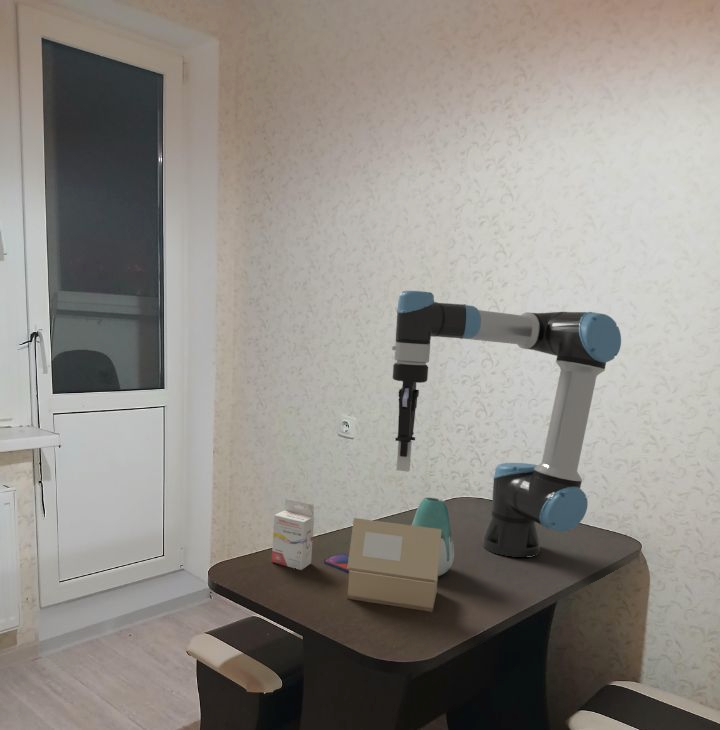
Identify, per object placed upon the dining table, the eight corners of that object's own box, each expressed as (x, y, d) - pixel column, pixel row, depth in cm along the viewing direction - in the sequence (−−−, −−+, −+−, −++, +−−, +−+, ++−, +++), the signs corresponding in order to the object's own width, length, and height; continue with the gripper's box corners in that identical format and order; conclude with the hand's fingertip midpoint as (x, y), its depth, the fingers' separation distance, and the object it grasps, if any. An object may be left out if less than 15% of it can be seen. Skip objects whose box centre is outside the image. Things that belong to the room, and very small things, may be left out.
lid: (441, 529, 133) (441, 529, 132) (436, 583, 130) (436, 583, 129) (354, 518, 137) (353, 517, 136) (347, 570, 134) (346, 570, 133)
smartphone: (341, 556, 158) (341, 552, 158) (389, 573, 149) (389, 569, 149) (321, 564, 153) (321, 560, 153) (370, 583, 143) (370, 578, 143)
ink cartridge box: (270, 562, 150) (273, 502, 149) (281, 556, 155) (284, 497, 154) (301, 570, 147) (305, 509, 146) (312, 563, 151) (315, 503, 150)
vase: (424, 558, 160) (429, 488, 158) (462, 573, 151) (467, 500, 150) (393, 569, 151) (398, 495, 150) (431, 585, 143) (437, 508, 142)
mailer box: (436, 592, 140) (438, 565, 140) (432, 612, 130) (434, 583, 130) (357, 580, 144) (359, 554, 143) (347, 598, 134) (349, 571, 133)
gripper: (398, 360, 144) (390, 462, 145) (389, 363, 131) (381, 475, 133) (431, 362, 142) (423, 465, 144) (425, 366, 129) (416, 479, 131)
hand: (403, 470), depth 138 cm, fingers closed
